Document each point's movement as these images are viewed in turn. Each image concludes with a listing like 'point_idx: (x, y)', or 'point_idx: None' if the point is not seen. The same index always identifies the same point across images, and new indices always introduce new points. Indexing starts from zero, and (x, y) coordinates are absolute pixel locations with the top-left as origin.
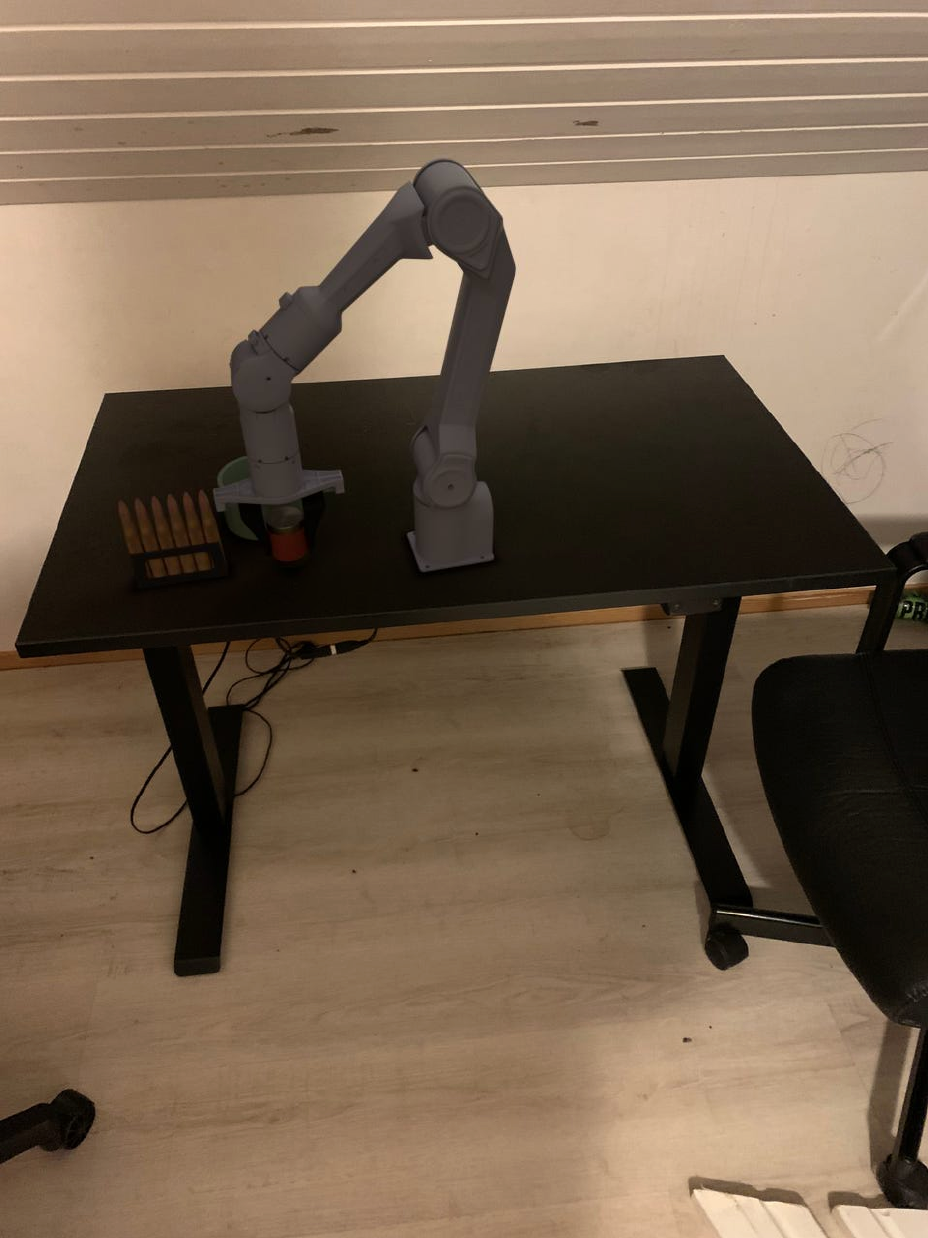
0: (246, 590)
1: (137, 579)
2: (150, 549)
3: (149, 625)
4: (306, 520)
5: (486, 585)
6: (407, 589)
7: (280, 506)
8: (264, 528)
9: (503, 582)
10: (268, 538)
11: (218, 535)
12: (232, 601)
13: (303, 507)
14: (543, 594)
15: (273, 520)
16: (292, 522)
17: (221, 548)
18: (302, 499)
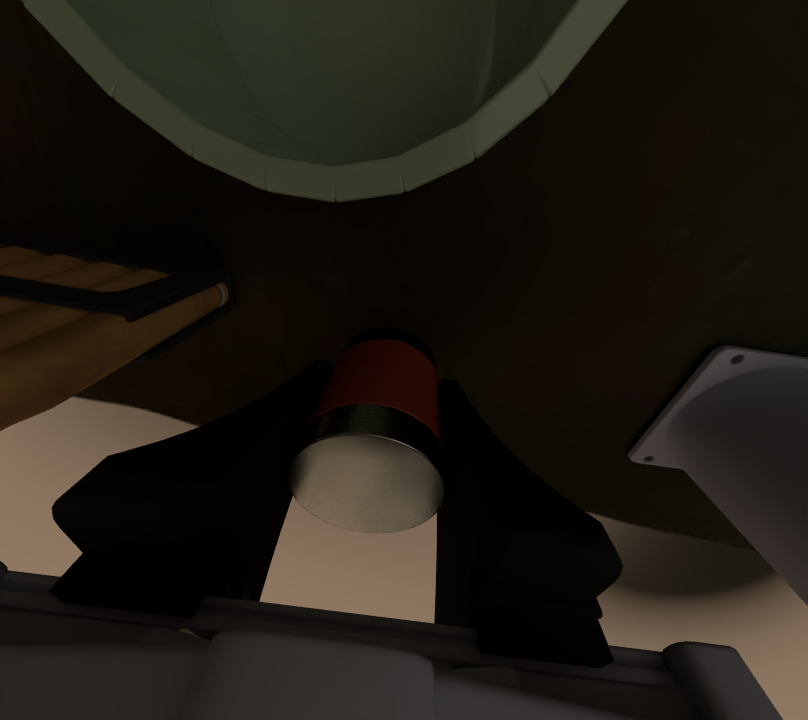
0: (281, 371)
1: None
2: None
3: (98, 389)
4: (437, 554)
5: (689, 506)
6: (570, 472)
7: (405, 191)
8: (280, 527)
9: (718, 510)
10: (319, 397)
11: (128, 358)
12: (252, 389)
13: (451, 549)
14: (736, 541)
15: (320, 494)
16: (389, 520)
17: (174, 331)
18: (453, 625)
